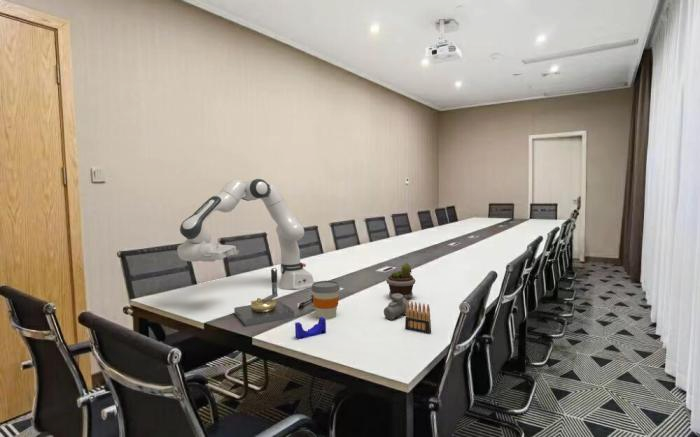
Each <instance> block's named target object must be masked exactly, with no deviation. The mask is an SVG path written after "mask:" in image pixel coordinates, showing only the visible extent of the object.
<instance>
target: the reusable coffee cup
mask: <svg viewBox="0 0 700 437" xmlns="http://www.w3.org/2000/svg"><path fill="white" fill-rule="evenodd" d="M311 291H312V302H313V307H314V309H315V310H314V311H315V316H316V318H317V319H319V318H321V317H323V318H325V319H326V320H331V319H334V318H336V316H337V310H338V305H339V298H340V295H339V292H340V283H339V282H338V281H335V280H319V281H315V283H313V284H312V286H311Z"/></svg>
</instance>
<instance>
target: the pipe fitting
mask: <svg viewBox="0 0 700 437" xmlns="http://www.w3.org/2000/svg"><path fill="white" fill-rule="evenodd" d="M391 299H392V300H391V301H389V303H388V304H387V306H385V307H384V309H383V316H384V317H385V318H386V319H388V320H394V319H395V318H397V317H398V316H400V315H401V316H402V315H404V316H405V315H406V307H407V301H408V300H407V299H405V298H403V295H402V294H398V293H396V294H393V295H392V297H391ZM410 305H411V303H409V307H410Z"/></svg>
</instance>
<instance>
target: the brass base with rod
mask: <svg viewBox="0 0 700 437" xmlns="http://www.w3.org/2000/svg"><path fill="white" fill-rule="evenodd" d="M270 275H271V277H270V278H271V279H270V280H271V281H270V282H271V291H272V292H271V294H270V295H268V296H266V297H264V298H260V297H258V298H256V300H252V301H250V302H251V304H250V305H251V310H252V311H254V312H267V311H271V310H274V309H275V308H276V301H277V300H276V299H275V298H277V297H278V296H279V295H278V269H277V268H276V267H273V268H271V269H270Z"/></svg>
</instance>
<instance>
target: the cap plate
mask: <svg viewBox="0 0 700 437" xmlns="http://www.w3.org/2000/svg"><path fill="white" fill-rule="evenodd" d="M275 301H276V308H275V309H274V310H271V311H267V312H254V311H252V310H251V304H248V305H244V306H243V305H242V306H236V307H234V308H233V310H234V311H233V312H234V316H236V317H237V318H238V320H240V321H241V323H242V324H243V325H244V326H245V327H249V326H250V327H251V326H256V325H261V324H266V323H272V322H276V321H281V320H287V319H292V318H295V310H294V309H293V308H291V307H290V306H288V305H286V304H285V303H284V302H282V301H281V300H275Z"/></svg>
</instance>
